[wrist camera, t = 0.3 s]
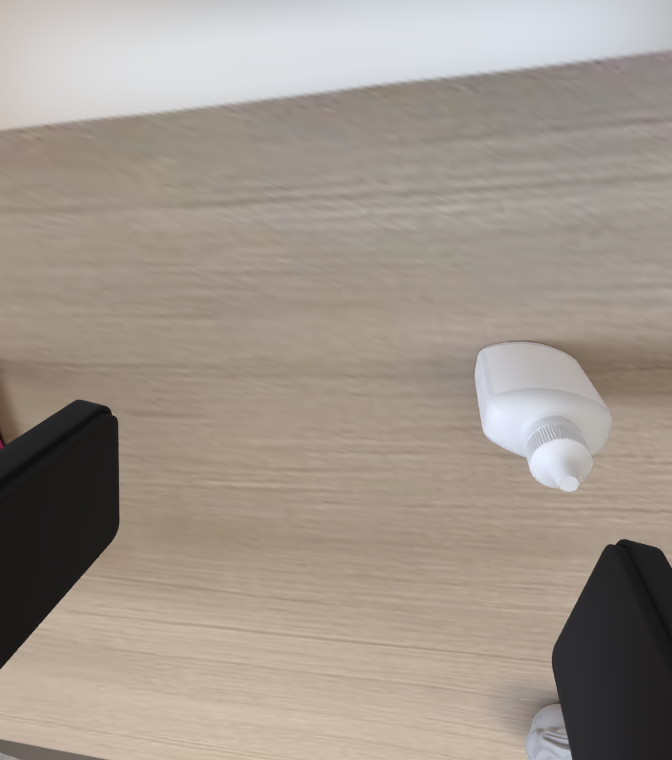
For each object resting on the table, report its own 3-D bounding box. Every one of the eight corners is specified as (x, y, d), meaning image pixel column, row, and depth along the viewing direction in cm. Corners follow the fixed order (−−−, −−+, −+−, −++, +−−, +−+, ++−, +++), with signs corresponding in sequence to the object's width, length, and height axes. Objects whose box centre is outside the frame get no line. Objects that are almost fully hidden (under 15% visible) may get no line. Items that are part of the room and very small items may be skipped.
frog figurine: (608, 683, 38) (641, 786, 32) (593, 743, 41) (621, 849, 35) (523, 671, 39) (538, 768, 33) (514, 731, 42) (527, 831, 36)
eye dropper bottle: (509, 312, 29) (549, 402, 18) (588, 366, 29) (673, 486, 19) (461, 369, 31) (471, 481, 20) (536, 420, 31) (586, 557, 20)
